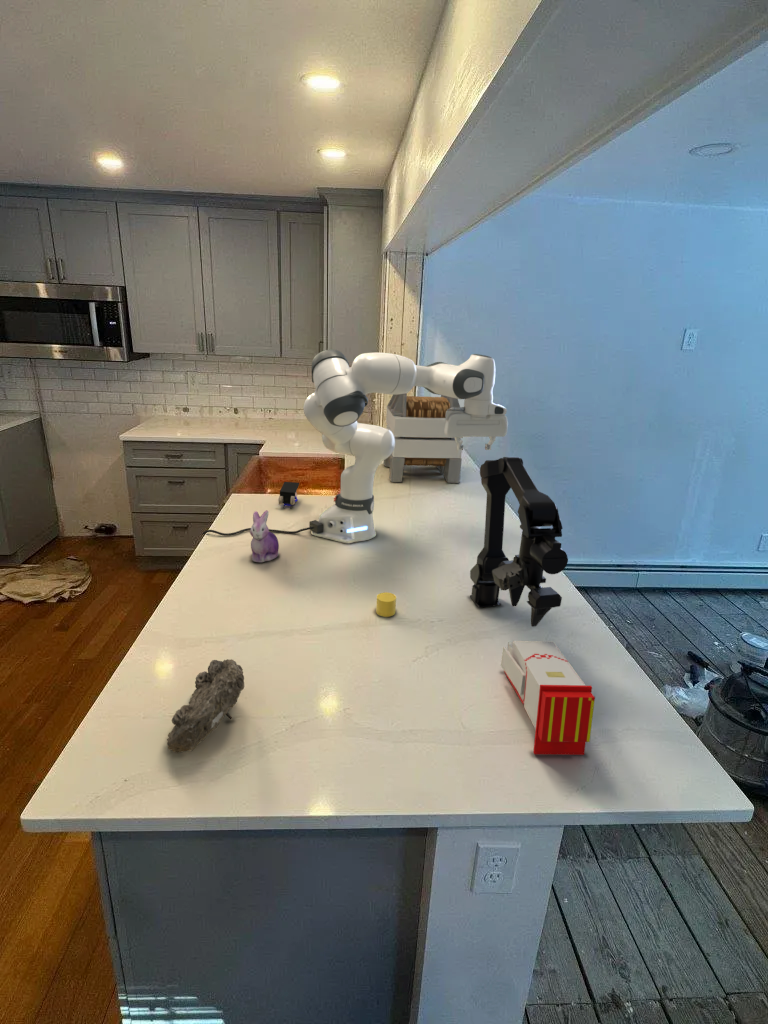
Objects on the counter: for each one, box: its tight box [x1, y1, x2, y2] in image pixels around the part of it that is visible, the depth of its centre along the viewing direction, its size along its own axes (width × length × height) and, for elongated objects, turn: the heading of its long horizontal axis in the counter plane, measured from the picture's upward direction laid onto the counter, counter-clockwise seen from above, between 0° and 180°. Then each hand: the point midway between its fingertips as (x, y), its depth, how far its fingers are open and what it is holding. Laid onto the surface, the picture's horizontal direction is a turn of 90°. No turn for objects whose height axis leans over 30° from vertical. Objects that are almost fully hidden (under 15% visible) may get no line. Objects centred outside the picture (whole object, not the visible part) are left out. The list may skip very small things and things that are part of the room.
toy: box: [500, 640, 596, 756], centre depth 114 cm, size 12×13×30 cm
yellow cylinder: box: [375, 591, 397, 618], centre depth 148 cm, size 5×5×4 cm
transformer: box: [382, 393, 464, 484], centre depth 268 cm, size 34×33×41 cm
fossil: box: [166, 658, 245, 754], centre depth 106 cm, size 22×10×15 cm
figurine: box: [249, 509, 280, 563], centre depth 174 cm, size 9×10×15 cm
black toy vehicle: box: [278, 481, 300, 510], centre depth 223 cm, size 7×8×15 cm
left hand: (473, 449), depth 184 cm, fingers open, 8 cm apart
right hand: (523, 615), depth 131 cm, fingers open, 9 cm apart
